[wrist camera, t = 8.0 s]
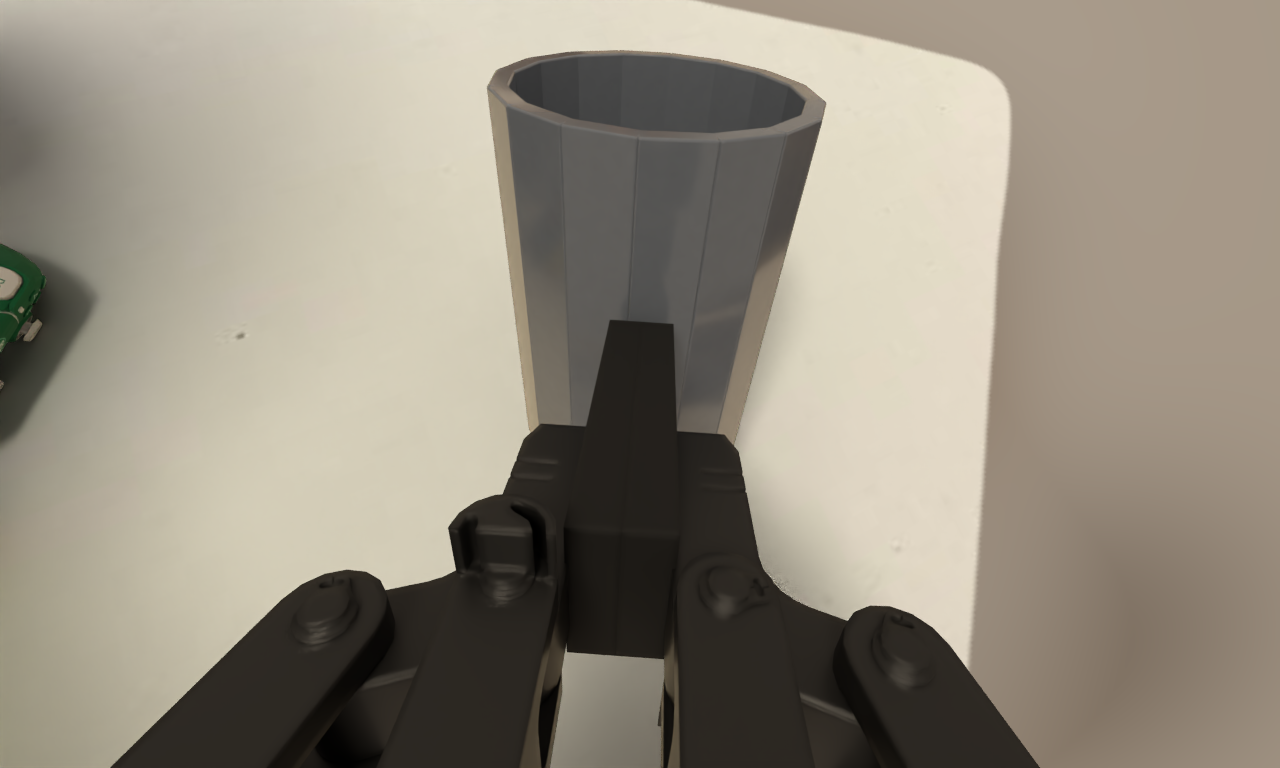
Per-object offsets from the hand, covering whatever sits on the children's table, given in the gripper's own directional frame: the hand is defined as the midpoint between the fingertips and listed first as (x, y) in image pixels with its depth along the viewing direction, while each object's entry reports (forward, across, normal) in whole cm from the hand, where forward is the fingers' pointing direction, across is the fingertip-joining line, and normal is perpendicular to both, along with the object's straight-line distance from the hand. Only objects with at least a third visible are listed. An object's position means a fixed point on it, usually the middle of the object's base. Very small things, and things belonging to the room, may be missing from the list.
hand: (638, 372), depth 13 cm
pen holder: (+6, 0, -6) cm, 8 cm away
